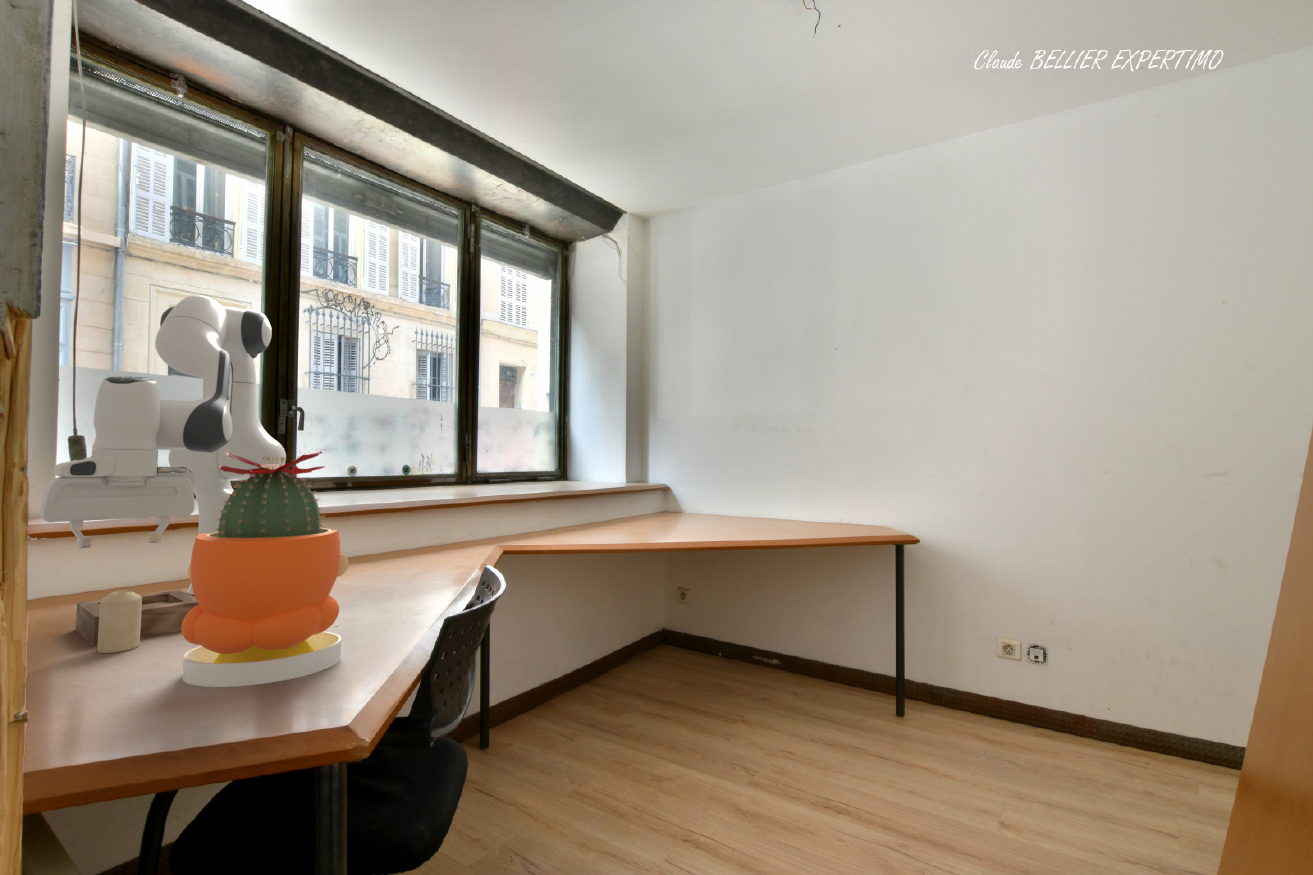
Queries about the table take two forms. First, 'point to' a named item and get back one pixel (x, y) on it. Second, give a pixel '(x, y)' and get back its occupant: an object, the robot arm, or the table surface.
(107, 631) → the candle
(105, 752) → the table surface
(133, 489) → the robot arm
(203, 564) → the potted cactus
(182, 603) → the walnut block
